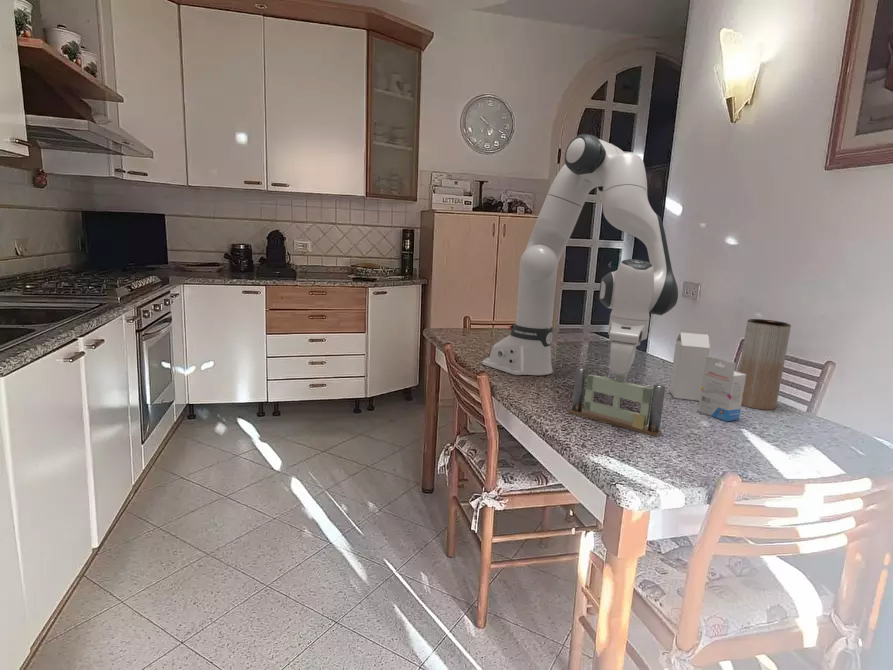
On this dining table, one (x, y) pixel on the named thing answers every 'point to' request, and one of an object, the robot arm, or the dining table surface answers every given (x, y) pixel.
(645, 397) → the gate
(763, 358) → the planter
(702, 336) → the milk carton
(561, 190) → the robot arm
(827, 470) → the dining table surface
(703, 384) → the ink box
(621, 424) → the drawknife
